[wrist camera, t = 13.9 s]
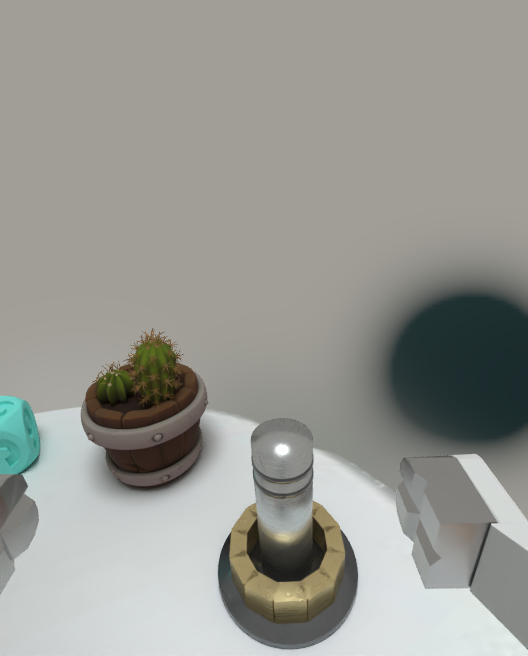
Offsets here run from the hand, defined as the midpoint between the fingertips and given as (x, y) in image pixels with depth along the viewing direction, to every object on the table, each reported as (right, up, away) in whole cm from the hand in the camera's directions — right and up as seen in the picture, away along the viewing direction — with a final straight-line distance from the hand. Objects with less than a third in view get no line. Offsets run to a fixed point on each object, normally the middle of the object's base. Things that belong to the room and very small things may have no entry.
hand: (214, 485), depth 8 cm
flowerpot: (-13, -14, +41) cm, 46 cm away
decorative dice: (-34, -15, +43) cm, 56 cm away
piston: (+3, -19, +27) cm, 33 cm away
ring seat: (+3, -19, +28) cm, 34 cm away
